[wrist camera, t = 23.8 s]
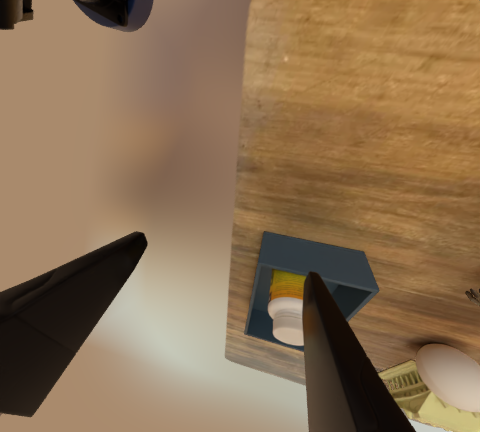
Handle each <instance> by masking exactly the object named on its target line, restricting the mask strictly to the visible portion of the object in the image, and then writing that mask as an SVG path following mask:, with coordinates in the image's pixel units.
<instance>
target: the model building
mask: <svg viewBox="0 0 480 432" xmlns="http://www.w3.org/2000/svg"><path fill="white" fill-rule="evenodd" d="M378 375H379V376H380V378H382V379H385V380H387V382H388V385H389V389H390V390H389V392H390V394H392V397H393V398H394V400H395V401H396V403H397V404H398V406H399V407H400V408H403V409H404V411H405V412H406V415H407V416H408V418H410V419H412V415H413V418H414V419H417V420H419V421H420V422H422V423H424V422H426V423H429V424H432V426H434V427H436V426H438V427H441V428H444V430H446V431H449V430H450V431H453V432H480V412H468V411H464V410H461V409H458V408H456V407H453V406H451V405H449V404H448V403H446V402H445V401H443V400H441V399H440V398H439V397H438V396H436V395H435V394H434V393H433V392H432V391H431V390H430V389H429V388H428V387H427V385H426V384H425V383H424V382H423V380H422V379H421V377H420V375H419V373H418V370H417V367H416V362H415V361H412V360H410V361H407V362H405V363H402V364H400V365H397V366H395V367H392V368H389V369H387V370H384V371H382V372H379V373H378ZM389 381H391V382H392V384H393V387H394V390H392V389H391V386H390V382H389ZM395 383H397V384H398V389H397V388H396V385H395ZM400 384H401V385H403V388H402V387H401V385H400ZM406 386H407V387H406Z"/></svg>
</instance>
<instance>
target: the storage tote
mask: <svg viewBox="0 0 480 432" xmlns="http://www.w3.org/2000/svg"><path fill="white" fill-rule="evenodd" d="M272 269H277V270H281V271H285V272H290V273H294V274H298V275H302V276H307V275H308V273H309V272H310V271H312V272H316V273H318V274H319V275H320V276H321V278H322V280H323V281H324V283H325V285H326V287H327V288H328V290H329V292H330V293H331V295H332V297H333V298H334V300H335V302H336V304H337V305H338V307H339V309H340V310H341V312H342V314H343V315H344V317H345V319H346V321H347V322H348V321H349V320H350V319H351V318H352V317H353V316H354V315H355V314H356V313H357V312H358V311H359V310H360V309H361V308H362V307H364V306H365V305H366V304H367V303H368V302H369V301H370V300H371V299H372V298H373V297H374V296H375V295H376V294H377V293H378V292H379V288H378V286H377V283H376V280H375V278H374V275H373V273H372V270H371V268H370V265H369V263H368V260H367V258H366V255H365V253H364V252H362V251H357V250H352V249H347V248H343V247H338V246H333V245H328V244H323V243H318V242H313V241H308V240H304V239H299V238H294V237H289V236H284V235H279V234H274V233H269V232H265V231H264V234H263V239H262V244H261V249H260V254H259V259H258V264H257V269H256V274H255V279H254V285H253V290H252V295H251V300H250V305H249V311H248V316H247V321H246V326H245V331H244V334H245V335H248V336H252V337H255V338H258V339H262V340H265V341H269V342H272V343H275V344H279V345H282V346H285V347H289V348H292V349H296V350H299V351H302V352H304V345H303V346H297V345H291V344H287V343H284V342H282V341H280V340H278V339H277V338H275V337H274V335H273V319H272V318H271V316H270V315H269V313H268V301H269V293H270V284H271V275H272Z"/></svg>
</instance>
